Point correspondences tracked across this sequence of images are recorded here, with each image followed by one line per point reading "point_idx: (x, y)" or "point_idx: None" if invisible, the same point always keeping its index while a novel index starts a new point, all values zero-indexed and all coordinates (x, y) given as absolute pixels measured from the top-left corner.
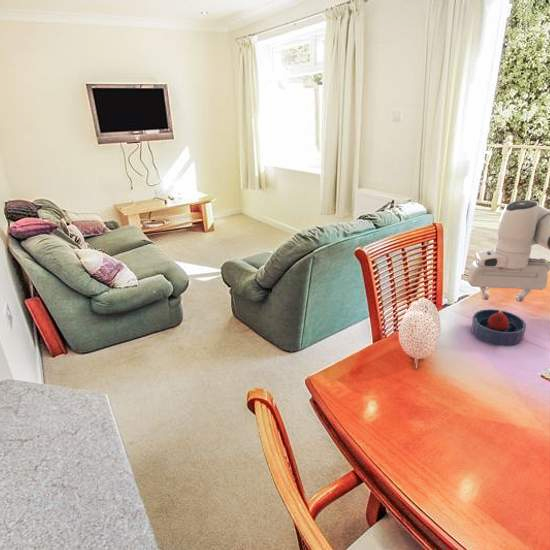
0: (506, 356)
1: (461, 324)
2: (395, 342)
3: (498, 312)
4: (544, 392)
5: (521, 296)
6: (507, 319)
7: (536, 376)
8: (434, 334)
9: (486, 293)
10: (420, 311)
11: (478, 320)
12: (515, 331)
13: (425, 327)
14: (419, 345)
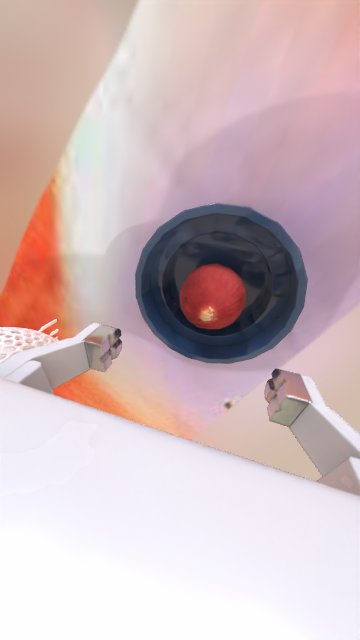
0: None
1: (137, 223)
2: (17, 298)
3: (199, 314)
4: (209, 423)
5: (288, 424)
6: (230, 321)
7: (218, 403)
8: None
9: (93, 354)
10: None
11: (169, 248)
12: (266, 297)
13: (19, 336)
14: None
